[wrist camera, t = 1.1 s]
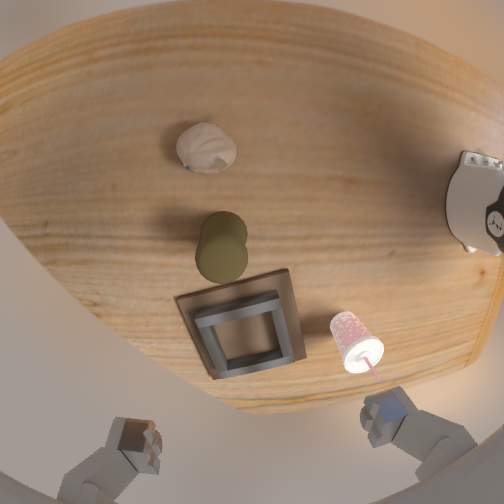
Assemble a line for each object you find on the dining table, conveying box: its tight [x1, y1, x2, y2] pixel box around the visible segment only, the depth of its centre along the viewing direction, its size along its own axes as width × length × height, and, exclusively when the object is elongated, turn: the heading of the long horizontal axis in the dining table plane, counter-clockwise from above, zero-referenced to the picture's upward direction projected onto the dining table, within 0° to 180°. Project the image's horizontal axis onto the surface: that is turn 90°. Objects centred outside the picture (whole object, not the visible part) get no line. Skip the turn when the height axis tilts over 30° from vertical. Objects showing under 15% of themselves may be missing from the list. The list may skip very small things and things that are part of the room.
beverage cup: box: [330, 311, 384, 382], centre depth 35 cm, size 6×6×14 cm
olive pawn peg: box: [195, 211, 248, 284], centre depth 30 cm, size 6×6×11 cm
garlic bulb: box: [176, 122, 237, 175], centre depth 28 cm, size 7×6×8 cm
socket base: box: [177, 269, 307, 380], centre depth 39 cm, size 16×16×4 cm
